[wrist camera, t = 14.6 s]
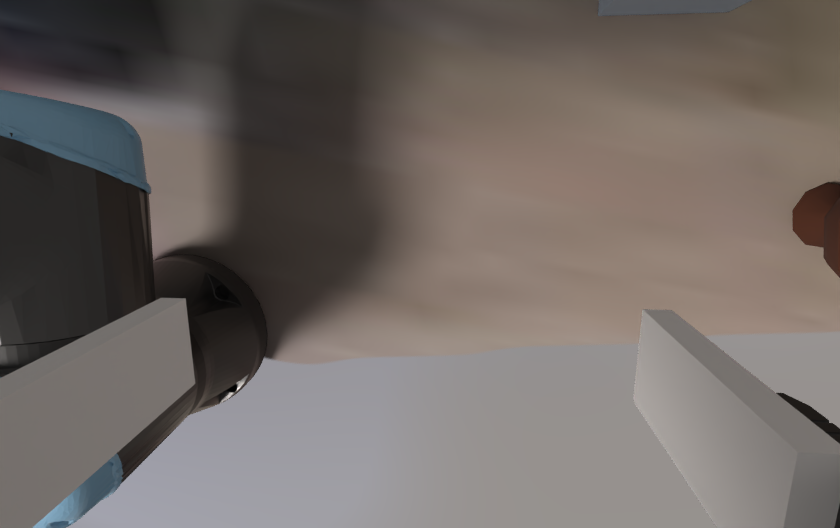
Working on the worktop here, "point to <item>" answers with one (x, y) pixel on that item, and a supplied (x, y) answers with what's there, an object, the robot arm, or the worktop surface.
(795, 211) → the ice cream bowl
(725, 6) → the grey slate tile
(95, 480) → the robot arm
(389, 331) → the worktop surface
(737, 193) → the worktop surface
